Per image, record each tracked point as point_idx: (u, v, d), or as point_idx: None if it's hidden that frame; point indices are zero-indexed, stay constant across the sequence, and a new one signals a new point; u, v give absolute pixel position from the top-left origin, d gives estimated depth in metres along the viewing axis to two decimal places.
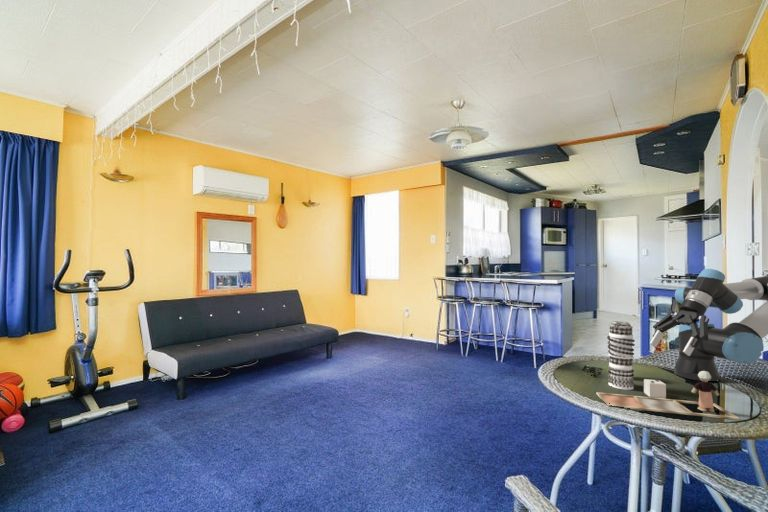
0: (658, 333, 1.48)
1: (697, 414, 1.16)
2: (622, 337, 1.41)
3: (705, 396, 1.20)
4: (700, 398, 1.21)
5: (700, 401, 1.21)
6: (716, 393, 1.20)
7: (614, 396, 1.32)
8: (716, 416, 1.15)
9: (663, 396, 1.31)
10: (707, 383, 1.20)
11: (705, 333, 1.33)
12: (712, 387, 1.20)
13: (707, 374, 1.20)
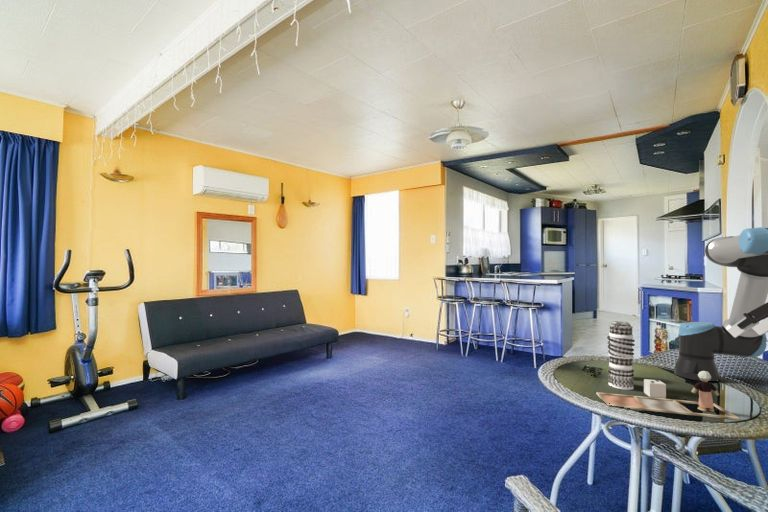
0: None
1: (697, 414, 1.16)
2: (622, 337, 1.41)
3: (705, 396, 1.20)
4: (700, 398, 1.21)
5: (700, 401, 1.21)
6: (716, 393, 1.20)
7: (614, 396, 1.32)
8: (716, 416, 1.15)
9: (663, 396, 1.31)
10: (707, 383, 1.20)
11: None
12: (712, 387, 1.20)
13: (707, 374, 1.20)
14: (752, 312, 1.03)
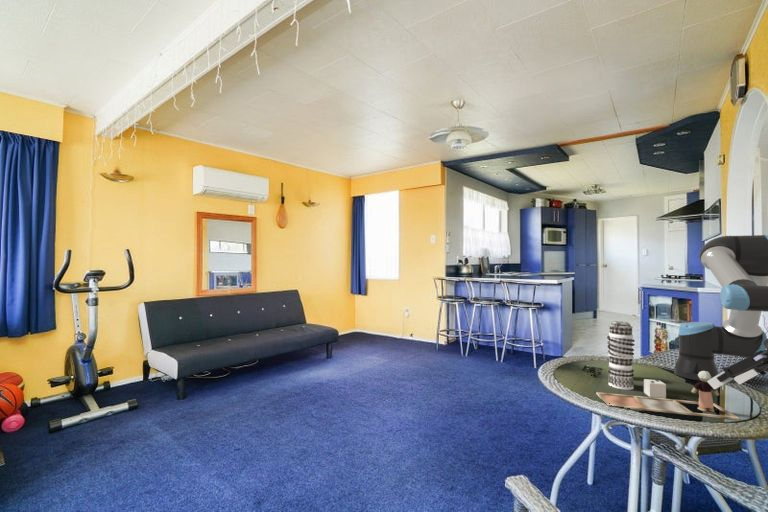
0: None
1: (697, 414, 1.16)
2: (622, 337, 1.41)
3: (705, 396, 1.20)
4: (700, 398, 1.21)
5: (700, 401, 1.21)
6: (716, 393, 1.20)
7: (614, 396, 1.32)
8: (716, 416, 1.15)
9: (663, 396, 1.31)
10: (707, 383, 1.20)
11: None
12: (712, 387, 1.20)
13: (707, 374, 1.20)
14: (730, 367, 1.06)
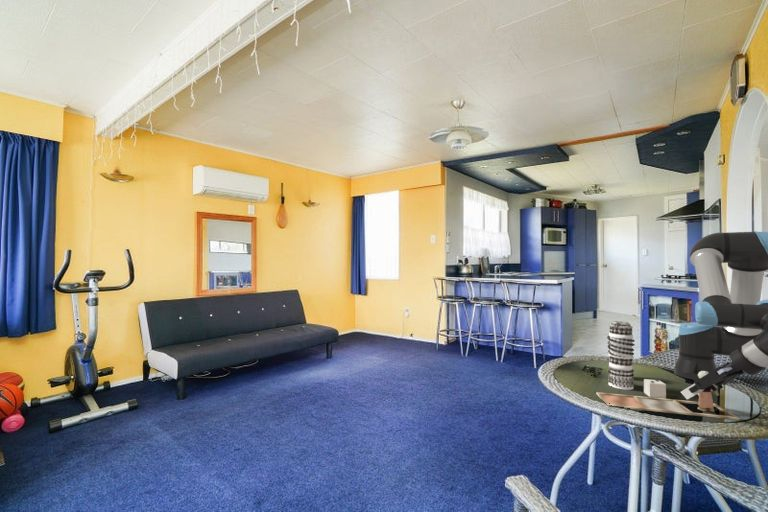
0: None
1: (697, 414, 1.16)
2: (622, 337, 1.41)
3: (705, 396, 1.20)
4: (700, 398, 1.21)
5: (700, 401, 1.21)
6: (716, 393, 1.20)
7: (614, 396, 1.32)
8: (716, 416, 1.15)
9: (663, 396, 1.31)
10: None
11: None
12: (712, 387, 1.20)
13: None
14: (699, 380, 1.16)
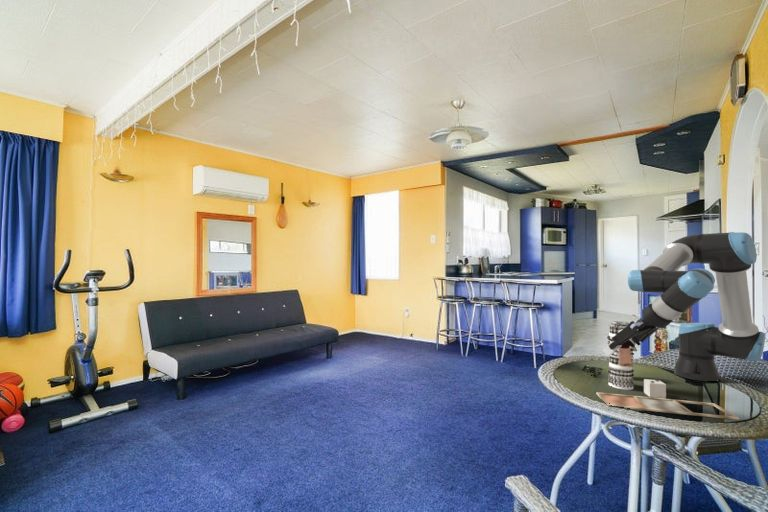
0: None
1: (697, 414, 1.16)
2: None
3: (624, 352, 1.26)
4: (619, 355, 1.27)
5: (620, 357, 1.27)
6: (634, 349, 1.26)
7: (614, 396, 1.32)
8: (716, 416, 1.15)
9: (663, 396, 1.31)
10: None
11: None
12: (630, 344, 1.26)
13: None
14: (616, 336, 1.23)
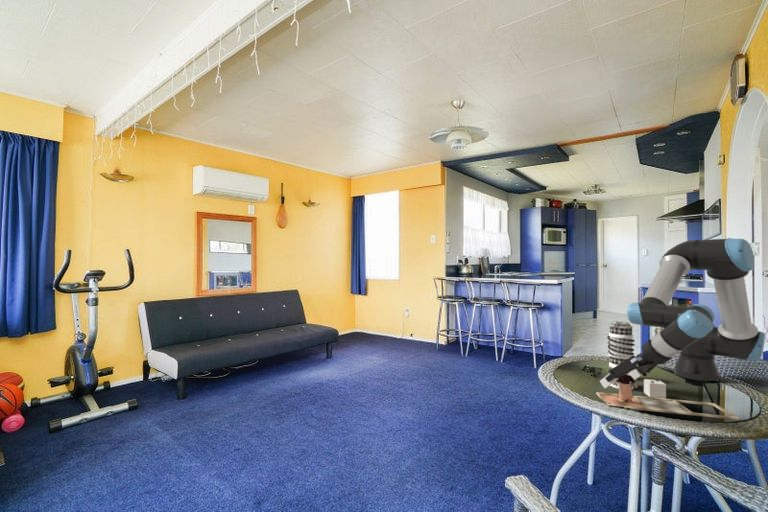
0: None
1: (697, 414, 1.16)
2: (622, 337, 1.41)
3: (624, 388, 1.26)
4: (619, 390, 1.27)
5: (620, 392, 1.27)
6: (635, 385, 1.26)
7: (614, 396, 1.32)
8: (716, 416, 1.15)
9: (663, 396, 1.31)
10: (626, 375, 1.26)
11: None
12: (631, 379, 1.26)
13: None
14: (613, 369, 1.21)
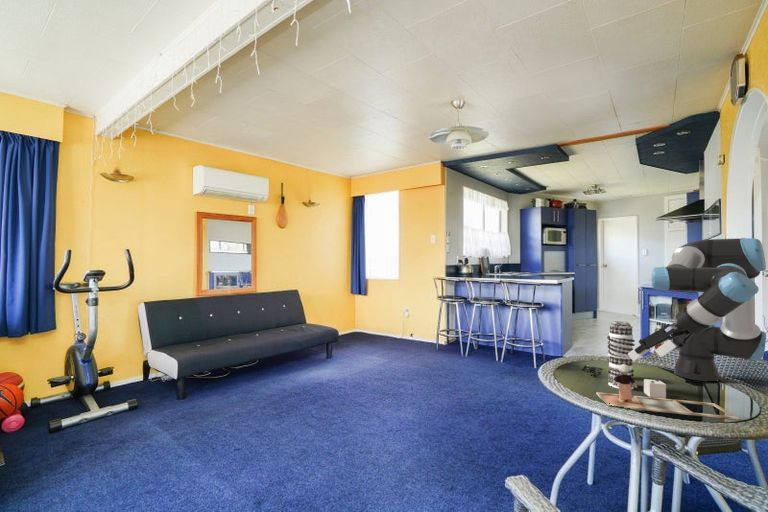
0: None
1: (697, 414, 1.16)
2: (622, 337, 1.41)
3: (624, 388, 1.26)
4: (619, 390, 1.27)
5: (619, 393, 1.27)
6: (634, 385, 1.26)
7: (614, 396, 1.32)
8: (716, 416, 1.15)
9: (663, 396, 1.31)
10: (626, 376, 1.26)
11: None
12: (631, 379, 1.26)
13: (626, 367, 1.26)
14: (645, 339, 1.12)
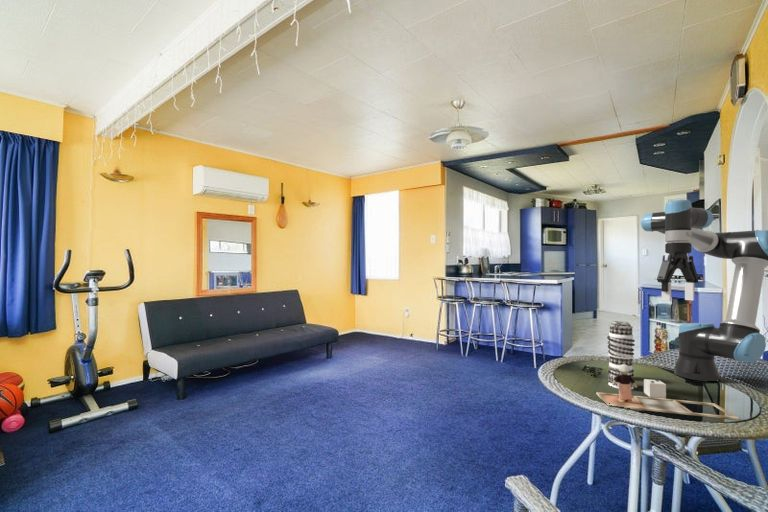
0: None
1: (697, 414, 1.16)
2: (622, 337, 1.41)
3: (624, 388, 1.26)
4: (619, 390, 1.27)
5: (619, 393, 1.27)
6: (634, 385, 1.26)
7: (614, 396, 1.32)
8: (716, 416, 1.15)
9: (663, 396, 1.31)
10: (626, 376, 1.26)
11: None
12: (631, 379, 1.26)
13: (626, 367, 1.26)
14: (659, 275, 1.32)
